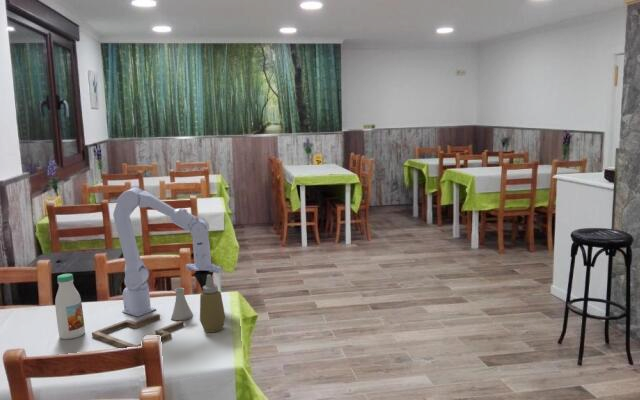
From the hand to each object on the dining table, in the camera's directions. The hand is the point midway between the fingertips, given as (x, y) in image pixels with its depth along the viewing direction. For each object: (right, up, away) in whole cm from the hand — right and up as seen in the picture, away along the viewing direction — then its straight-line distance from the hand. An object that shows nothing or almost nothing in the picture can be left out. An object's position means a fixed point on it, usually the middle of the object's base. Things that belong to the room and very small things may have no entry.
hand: (205, 290), depth 198 cm
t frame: (-16, -10, -20) cm, 28 cm away
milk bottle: (-39, -11, -19) cm, 45 cm away
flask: (-6, -8, -8) cm, 13 cm away
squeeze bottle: (+7, -9, -20) cm, 23 cm away
